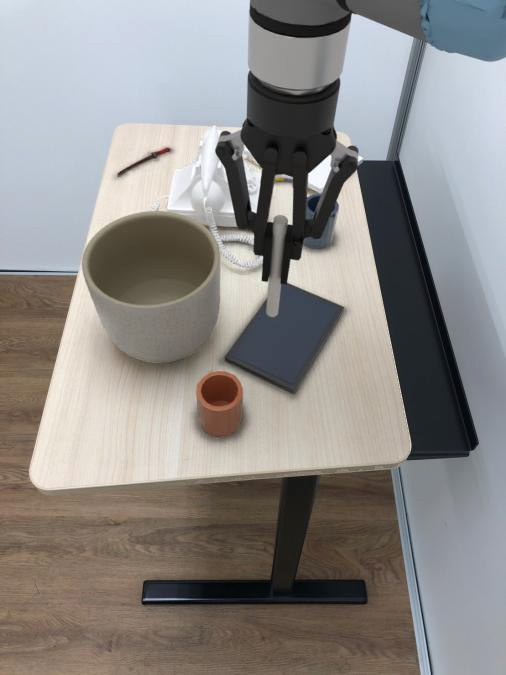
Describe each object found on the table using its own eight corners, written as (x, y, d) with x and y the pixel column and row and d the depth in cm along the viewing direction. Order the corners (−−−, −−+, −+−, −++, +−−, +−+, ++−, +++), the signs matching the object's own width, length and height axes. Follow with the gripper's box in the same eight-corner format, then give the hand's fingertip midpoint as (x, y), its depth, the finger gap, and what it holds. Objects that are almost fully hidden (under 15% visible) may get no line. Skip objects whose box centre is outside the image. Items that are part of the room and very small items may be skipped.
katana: (165, 147, 106) (165, 144, 105) (171, 150, 105) (171, 147, 105) (114, 174, 100) (113, 171, 99) (119, 177, 99) (118, 174, 99)
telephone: (266, 274, 86) (270, 213, 76) (136, 268, 86) (123, 206, 76) (269, 176, 101) (273, 114, 91) (159, 171, 101) (150, 108, 91)
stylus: (279, 314, 68) (290, 217, 56) (274, 322, 68) (283, 226, 55) (269, 310, 69) (277, 212, 56) (263, 318, 68) (270, 221, 55)
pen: (237, 179, 99) (237, 180, 100) (238, 182, 99) (238, 184, 100) (312, 175, 101) (311, 177, 101) (312, 179, 100) (312, 180, 101)
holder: (337, 233, 92) (344, 200, 87) (324, 253, 89) (330, 221, 84) (308, 222, 94) (312, 189, 88) (293, 241, 91) (297, 208, 85)
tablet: (343, 310, 82) (344, 306, 81) (294, 394, 73) (294, 390, 72) (279, 283, 85) (280, 279, 84) (224, 360, 76) (224, 356, 75)
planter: (225, 375, 75) (223, 304, 62) (101, 382, 73) (74, 312, 61) (219, 284, 85) (216, 207, 72) (109, 289, 83) (88, 212, 71)
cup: (249, 410, 71) (251, 382, 66) (228, 444, 69) (227, 418, 63) (213, 392, 73) (211, 363, 67) (191, 424, 70) (187, 397, 64)
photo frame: (362, 163, 104) (288, 128, 111) (363, 158, 104) (289, 123, 110) (320, 194, 97) (243, 154, 103) (321, 189, 96) (243, 149, 102)
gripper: (386, 58, 45) (340, 259, 64) (214, 40, 46) (219, 243, 65) (385, 107, 40) (336, 307, 59) (195, 85, 41) (207, 289, 60)
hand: (275, 274), depth 62 cm, fingers closed on stylus, 1 cm apart
